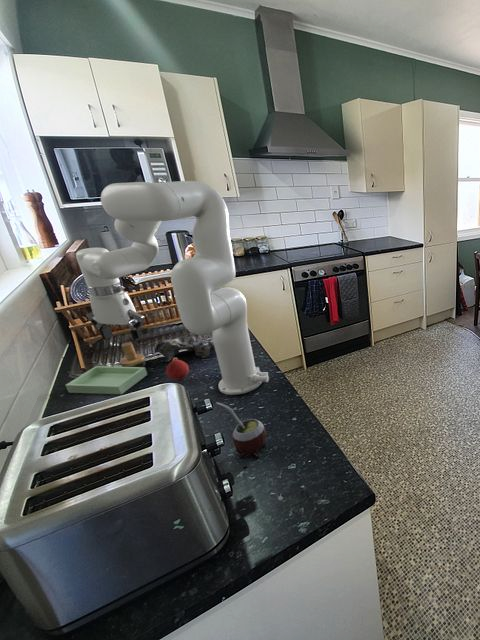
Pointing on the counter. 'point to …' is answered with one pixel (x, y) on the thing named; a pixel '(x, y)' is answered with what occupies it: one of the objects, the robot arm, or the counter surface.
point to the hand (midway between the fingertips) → (123, 338)
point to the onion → (177, 369)
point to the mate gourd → (247, 435)
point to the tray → (107, 380)
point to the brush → (131, 356)
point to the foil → (183, 347)
